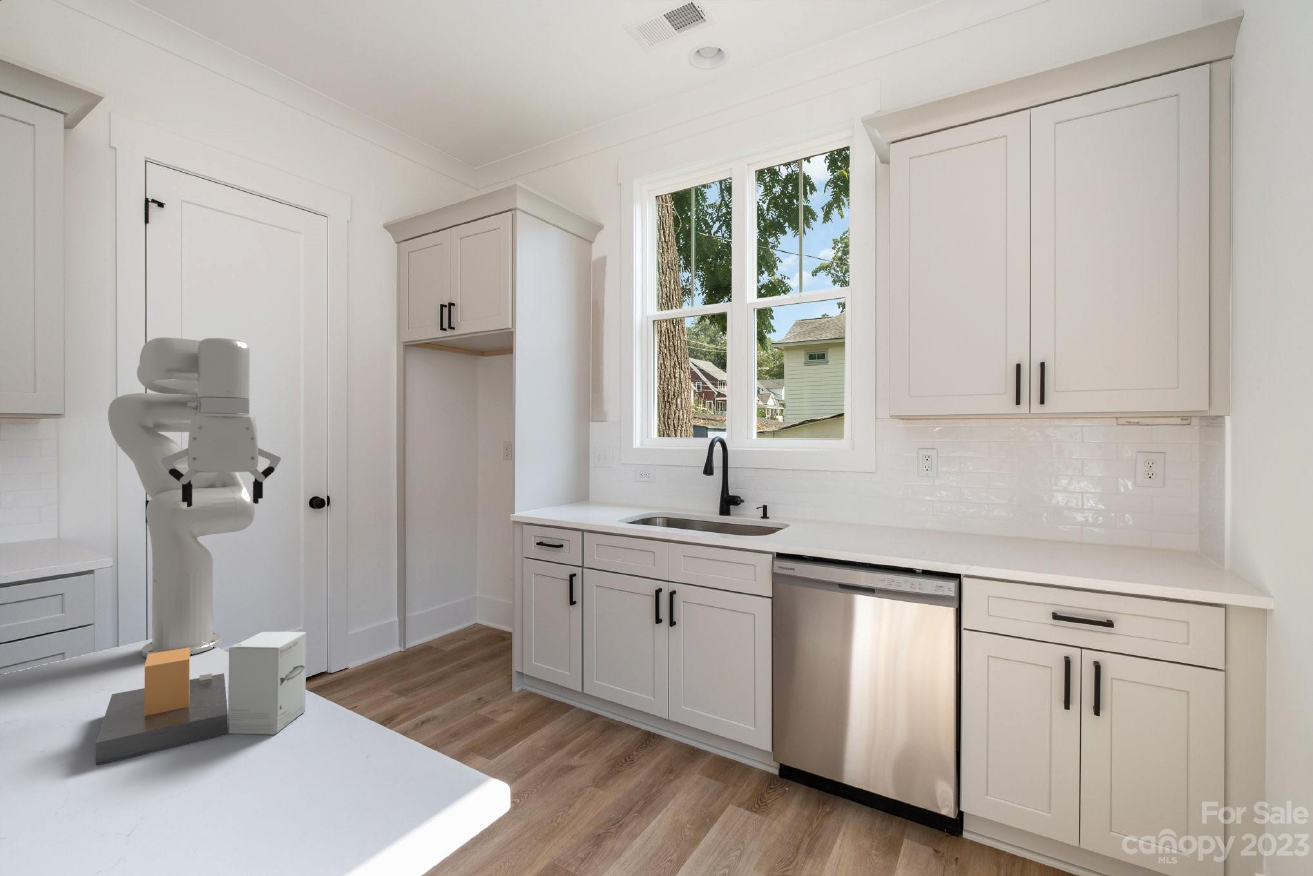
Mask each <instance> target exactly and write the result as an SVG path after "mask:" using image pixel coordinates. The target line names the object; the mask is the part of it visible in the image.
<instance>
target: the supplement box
mask: <svg viewBox="0 0 1313 876" xmlns="http://www.w3.org/2000/svg"><path fill="white" fill-rule="evenodd" d="M306 674H307V632H306V631H261V632H259V633H256V634H255V635H253V636H250V637H249V638H247V639H244V640H242V641H241V642H238V643H236V644H234V645H232V646H230V647H229V648H228V686H227V687H228V688H227V689H228V690H227V692H228V693H227V694H228V697H227V698H228V699H227V700H228V701H227V711H228V734H238V735H239V734H243V735H245V734H246V735H277V734H278V733H279V732H280V731H281V730H282V729H284V728H285V727H287V726H288V725H289V724H290V723H291V722H293V721H294V720H296V719H297V718H298V717H300V716H301V715H302V713H303V714H304V713H305V712H306V691H305V690H307V689H306V685H307V681H306V679H307V677H306V676H307V675H306Z"/></svg>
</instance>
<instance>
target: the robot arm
mask: <svg viewBox="0 0 1313 876" xmlns="http://www.w3.org/2000/svg"><path fill="white" fill-rule="evenodd" d="M250 352H251V351H250V347H249V345H248V344H247V343H246V342H244V341H242V340H239V339H231V338H224V337H222V338H221V337H207V338H204V339H201V340H196V339H188V338H178V337H165V336H163V337H156V338H153V339H150V340H148V341H147V342H145V343H144V345H143V346H142V348H141V351H140V354H139V355H140V356H139V365H138V366H137V369H136V376H137V379H138V381H139V383H140V384H141V385H142V386H143V387H144V388H145V389H147V390H149V391H151V392H147V393H146V392H137V393H128V394H127V393H126V394H123V395H120V396H118V397H116V398H114V399H113V400H112V401H111V402H110V403H109V406H108V410H107V420H108V426H109V430H110V432H111V435H112V437H113V439H114V441H115V442H116V444H117V445H118V447H119V448H120V449H121V450H122V451H123V452H124V454H125V455H126V456H127V457H128V458H129V459H130V461H132V463H133V465H134V468H135V469H136V472H137V475H138V478H139V479H140V482H141V484H142V487H143V489H144V491H145V493H146V494H147V495H148V497H149V498H150V499H149V501H148V502H147V506H146V511H145V512H146V523H147V525H148V530H149V532H148V533H149V537H150V544H151V559H152V563H151V565H152V566H151V567H152V571H151V572H152V575H151V577H152V579H151V580H152V581H151V582H152V583H151V585H152V586H151V588H152V589H151V590H152V592H151V596H152V597H151V601H152V602H151V603H152V604H151V606H152V607H151V610H152V612H151V641H150V642H148V643H147V644H145V645H144V646H142V648H141V655H142V657H144V658H147V655H148V654H151V653H158V652H164V651H170V650H176V649H183V648H189V647H190V656H191V654H192V655H196V654H199V653H203V652H206V651H209V650H212V649H214V648H216V647H218V646H219V645H221V643H222V641H223V636H222V635H221V634H220V633H219V632H218V633H217V632H214V631H213V630H214V629H213V621H214V620H213V610H214V609H213V607H214V606H213V604H214V603H213V602H214V600H213V598H214V597H213V596H214V588H213V587H214V585H213V584H214V581H213V580H214V579H213V578H214V566H213V565H214V563H213V562H214V561H213V560H214V559H213V556H212V553H211V552H210V550H209V548H207V547H206V546H204V545H203V544H202V542H200V541H199V539H198V537H203V536H208V535H219V534H227V533H234V532H236V533H237V532H239V531H242V530H243V531H244V530H245V529H247V528H248V527H250V525H251V524H253V522H254V519H255V517H256V509H255V505H258V504H259V502H260V501H259V500H261V499H263V498H264V481H265V480H266V479H267V478H268V477H269V476H270V475H272V474H273V473H275V470H276V469H277V467H278V465H279V463H280V462H281V460H282V459H281V457H280V456H279V455H276V454H274V453H271V452H268V451H267V450H264V449H261V448H259V441H258V429H257V424H256V420H255V419H256V418H255V417H254V416H250V369H251V367H250V357H251V355H250ZM152 392H153V393H152ZM162 433H188V441H187V442H188V443H187V448H185V449H183V448H182V447H181V446H180V444H178V443H177V442H176V441H175V440H173V439H171V438H170V437H168V436H166V435H165V434H162ZM259 457H261V458H264V459H266V460H268V461H269V463H268V465H267V466H266V468H264V469H263V470H262V471H259V469H258V466H259ZM248 472H249V474H250V475H252V476H253V477H254V480H253V481H252V495H251V493H250V491H249V489H248V487H247V485H246V484H245V482H244V480H243V478H242V476H241V473H248ZM202 641H203V642H206V643H208V644H210V645H212V646H214V648H213V647H211V646H209V645H207V644H206V643H203V642H202Z"/></svg>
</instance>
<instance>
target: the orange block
mask: <svg viewBox="0 0 1313 876" xmlns="http://www.w3.org/2000/svg"><path fill="white" fill-rule="evenodd" d="M190 659H191V655H190V647H189V648H183V649H176V650H170V651H164V652H158V653H151V654H148V655H147V657H146V659H145V664H144V688H145V711H144V716H146V715H151V714H156V713H161V712H166V711H171V710H175V709H180V708H185V707H189V695H190V680H191V677H190V672H191V671H190V669H191V667H190V666H191V663H190V662H191V661H190Z"/></svg>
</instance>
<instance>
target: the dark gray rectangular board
mask: <svg viewBox="0 0 1313 876" xmlns="http://www.w3.org/2000/svg"><path fill="white" fill-rule="evenodd" d="M198 676H199V677H197V678H192V679H191V678H190V695H189V707H185V708H180V709H175V710H171V711H166V712H161V713H156V714H151V715H146V716H144V711H145V687H143V688H138V689H133V690H128V691H123V692H116V693H112V694H111V696H110V699H109V702H108V705H107V708H106V712H105V714H104V718H103V721H102V723H101V726H100V729H99V731H98V732H99V733H98V734H97V737H96V741H95V767H97V766H100V765H106V764H109V763H114V762H119V761H122V760H126V759H127V760H128V759H130V758H135V757H139V756H143V755H148V754H152V753H156V752H160V751H164V750H169V749H172V748H173V749H174V748H177V747H181V746H186V745H191V744H195V743H198V742H202V741H203V742H204V741H207V740H211V739H216V738H219V737H223V736H228V734H229V733H228V701H227V700H228V699H227V690H226V679H225V678H226V677H225V673H218V674H213V675H212V673H207V674H202V675H198Z"/></svg>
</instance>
